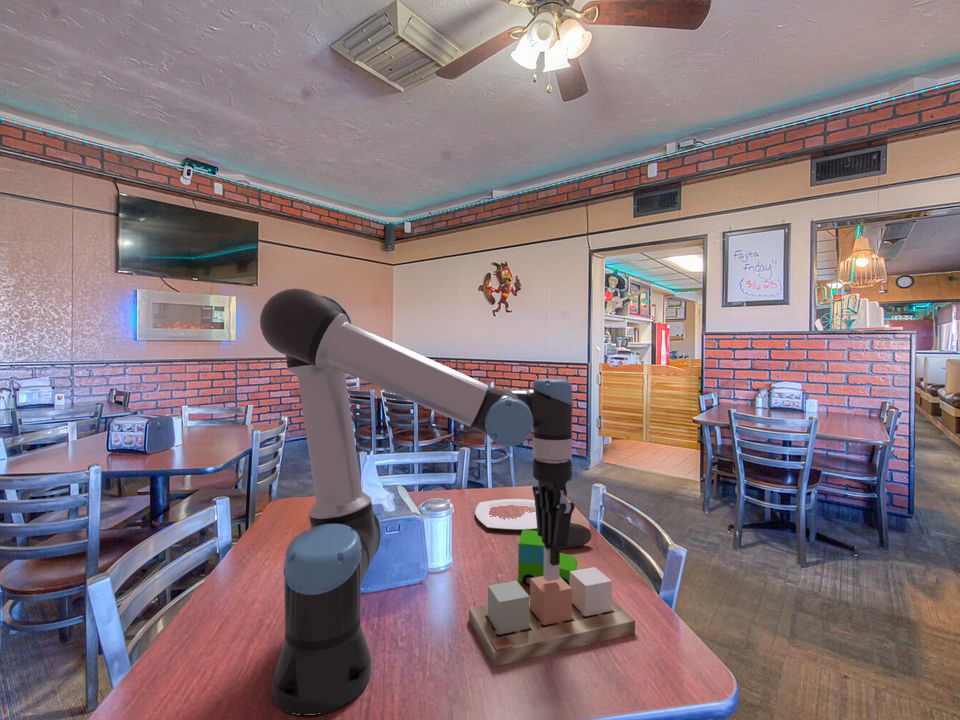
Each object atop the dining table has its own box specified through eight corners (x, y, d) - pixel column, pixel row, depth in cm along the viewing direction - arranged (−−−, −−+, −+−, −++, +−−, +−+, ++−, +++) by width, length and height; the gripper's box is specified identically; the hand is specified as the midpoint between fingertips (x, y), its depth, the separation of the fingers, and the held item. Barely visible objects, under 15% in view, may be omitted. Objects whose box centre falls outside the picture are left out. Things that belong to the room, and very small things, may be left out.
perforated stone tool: (588, 542, 127) (588, 518, 127) (594, 550, 122) (594, 525, 122) (536, 543, 126) (536, 518, 126) (540, 551, 121) (540, 526, 121)
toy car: (577, 595, 99) (577, 551, 99) (517, 588, 102) (518, 545, 102) (576, 573, 109) (577, 532, 109) (522, 567, 112) (523, 527, 112)
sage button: (498, 634, 81) (499, 602, 81) (487, 616, 87) (487, 585, 87) (529, 628, 83) (529, 596, 83) (516, 610, 89) (516, 580, 89)
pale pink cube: (585, 616, 87) (585, 585, 87) (569, 600, 93) (569, 571, 92) (611, 610, 89) (612, 580, 89) (594, 595, 95) (594, 567, 94)
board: (493, 666, 77) (493, 650, 76) (468, 620, 90) (469, 605, 90) (634, 633, 86) (635, 618, 86) (593, 595, 99) (593, 582, 99)
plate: (471, 505, 157) (471, 499, 157) (546, 503, 160) (546, 497, 160) (479, 537, 131) (479, 530, 131) (569, 533, 134) (569, 527, 133)
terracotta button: (543, 625, 84) (544, 593, 84) (529, 607, 90) (530, 578, 90) (571, 619, 86) (572, 588, 86) (556, 602, 92) (556, 573, 91)
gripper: (587, 465, 82) (586, 592, 83) (553, 450, 95) (552, 560, 95) (551, 468, 80) (550, 599, 80) (520, 452, 92) (520, 566, 93)
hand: (551, 578), depth 88 cm, fingers closed
